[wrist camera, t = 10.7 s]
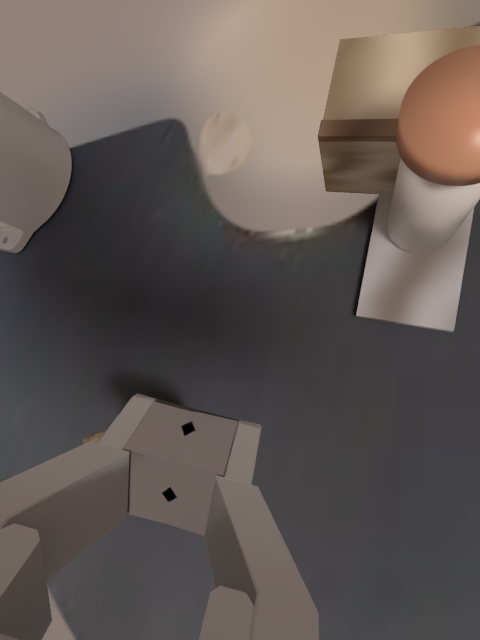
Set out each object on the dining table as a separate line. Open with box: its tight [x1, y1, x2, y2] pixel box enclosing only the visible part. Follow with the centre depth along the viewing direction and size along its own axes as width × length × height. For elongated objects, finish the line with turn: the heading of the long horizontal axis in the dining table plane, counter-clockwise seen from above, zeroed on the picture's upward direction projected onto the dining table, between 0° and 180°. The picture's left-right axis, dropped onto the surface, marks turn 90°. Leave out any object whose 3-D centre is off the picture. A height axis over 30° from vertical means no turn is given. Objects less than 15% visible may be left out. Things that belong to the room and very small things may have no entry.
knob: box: [387, 45, 480, 253], centre depth 21 cm, size 6×6×12 cm
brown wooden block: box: [318, 26, 480, 332], centre depth 24 cm, size 16×19×8 cm
